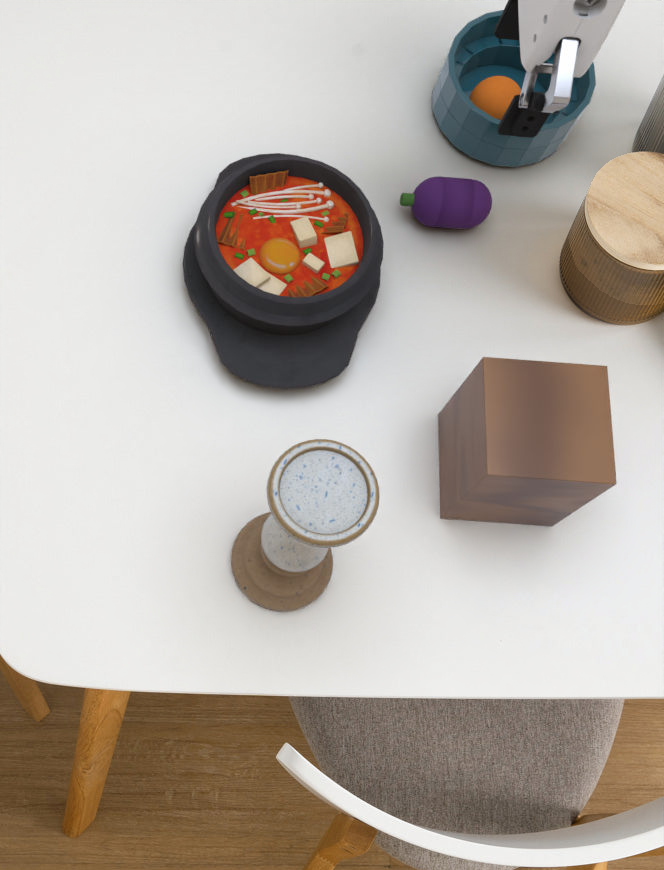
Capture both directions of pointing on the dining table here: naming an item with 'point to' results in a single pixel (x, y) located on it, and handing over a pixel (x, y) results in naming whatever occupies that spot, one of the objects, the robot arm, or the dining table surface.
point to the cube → (525, 442)
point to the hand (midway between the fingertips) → (513, 84)
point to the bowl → (477, 130)
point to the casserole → (284, 268)
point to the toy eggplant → (449, 202)
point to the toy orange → (495, 95)
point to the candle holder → (304, 523)
